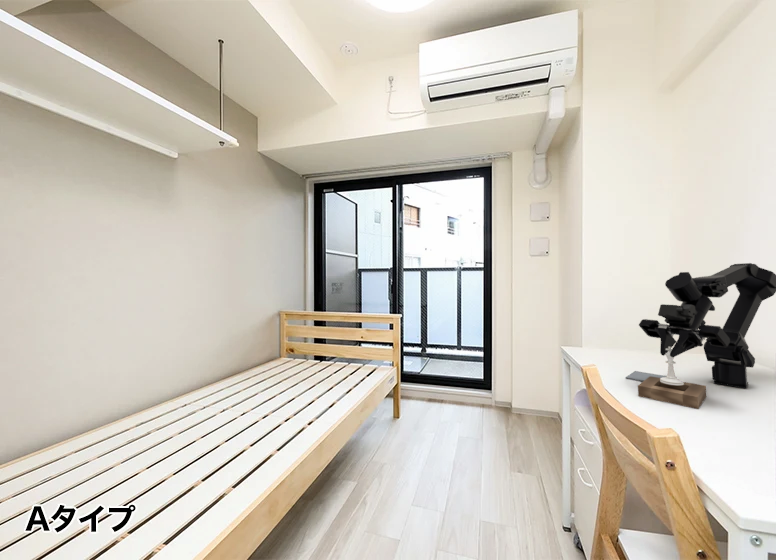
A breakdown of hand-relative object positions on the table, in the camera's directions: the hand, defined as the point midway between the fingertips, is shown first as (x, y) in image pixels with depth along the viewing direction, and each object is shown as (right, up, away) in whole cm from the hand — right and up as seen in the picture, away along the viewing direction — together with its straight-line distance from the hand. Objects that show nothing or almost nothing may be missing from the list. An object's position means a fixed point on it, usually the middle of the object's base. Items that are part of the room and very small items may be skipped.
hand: (666, 355), depth 85 cm
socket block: (+2, -12, 0) cm, 12 cm away
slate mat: (+8, -11, +15) cm, 21 cm away
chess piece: (+2, -8, 0) cm, 8 cm away
